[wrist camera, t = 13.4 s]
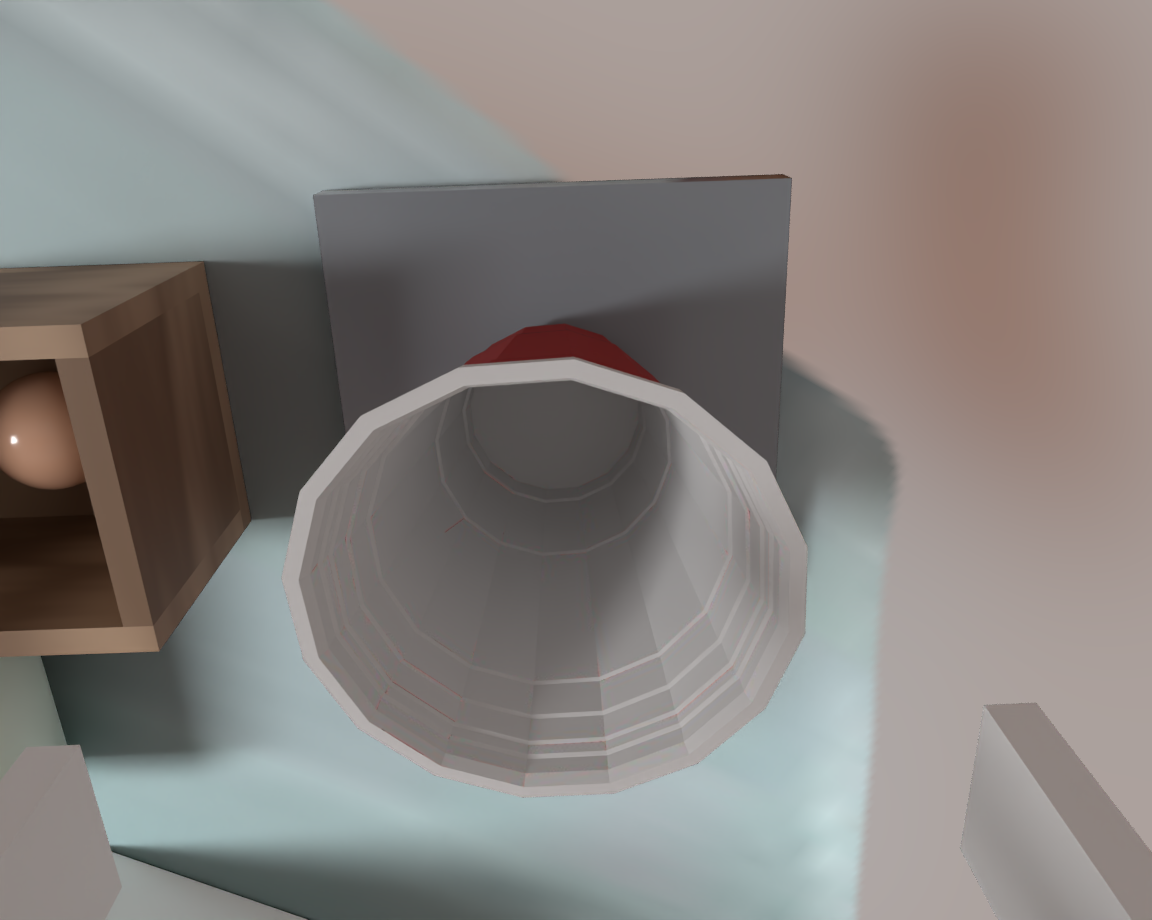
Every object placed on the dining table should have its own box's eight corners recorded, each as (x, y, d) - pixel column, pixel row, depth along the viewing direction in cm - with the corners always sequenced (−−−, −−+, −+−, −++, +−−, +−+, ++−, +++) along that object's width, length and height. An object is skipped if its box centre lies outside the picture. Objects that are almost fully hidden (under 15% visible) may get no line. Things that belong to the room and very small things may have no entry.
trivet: (375, 591, 34) (369, 608, 32) (322, 190, 28) (313, 195, 27) (762, 577, 34) (769, 594, 32) (782, 174, 28) (792, 178, 27)
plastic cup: (328, 478, 31) (194, 706, 19) (475, 178, 27) (414, 249, 16) (614, 613, 33) (640, 888, 22) (785, 351, 29) (923, 520, 18)
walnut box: (-7, 529, 32) (-175, 663, 25) (-85, 271, 29) (-306, 338, 22) (251, 520, 32) (159, 651, 25) (203, 261, 29) (80, 324, 22)
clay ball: (39, 464, 31) (-24, 511, 27) (10, 359, 29) (-60, 395, 26) (148, 460, 31) (97, 507, 27) (124, 355, 29) (68, 390, 26)
